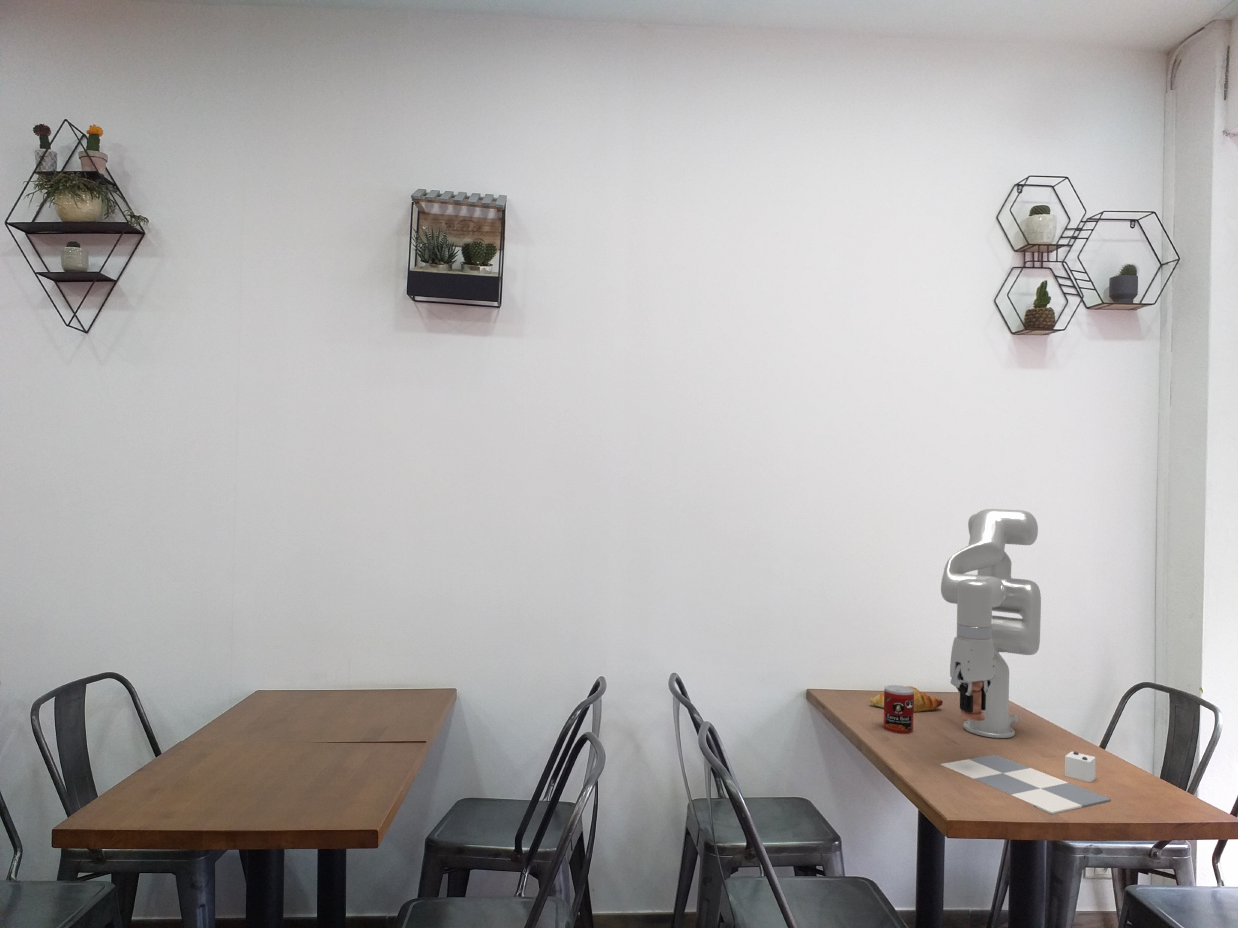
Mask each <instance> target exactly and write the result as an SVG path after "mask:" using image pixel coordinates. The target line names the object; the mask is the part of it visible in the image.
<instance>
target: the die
mask: <svg viewBox="0 0 1238 928" xmlns="http://www.w3.org/2000/svg"><path fill="white" fill-rule="evenodd" d="M1096 761H1097V760H1096V756H1092V755H1087V754H1083V753H1080V752H1078V751H1070V752H1069V753H1067V754H1066V755H1065V756H1064V777H1068V778H1071V779H1074V780H1078V781H1079V780H1080V781H1082V782H1086V783H1090V782H1091V783H1092V782H1093V781H1094V780H1096V766H1097V765H1096Z"/></svg>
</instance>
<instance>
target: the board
mask: <svg viewBox="0 0 1238 928" xmlns="http://www.w3.org/2000/svg"><path fill="white" fill-rule="evenodd" d="M939 765H940V766H943V767H945V768H948V769H950V770H951V771H955V772H957V773H959V774H961V775H964V776H966V777H968V778H971V779H974V780H976V781H978V782H981V783H982V784H984V785H987V786H989V787H992V788H994V789H995V790H998V791H1001V792H1003V793H1005V794H1008V795H1010V796H1013V797H1015V798H1017V799H1020V800H1022V801H1024V802H1025V803H1026V802H1027V803H1029V804H1031V805H1032V806H1033V808H1036V809H1039V810H1041V811H1043V812H1045V813H1048V814H1050V815H1055V814H1059V813H1063V812H1068V811H1073V810H1076V809H1081V808H1085V807H1091V806H1094V805H1098V804H1102V803H1107V802H1112V801H1111V800H1112V799H1111V798H1109V797H1107V796H1104V795H1103V794H1100V793H1096V792H1095V791H1091V790H1089V789H1086V788H1083V787H1081V786H1079V785H1077V784H1073V783H1070V782H1068V781H1065V780H1062V779H1061V778H1058V777H1055V776H1052V775H1050V774H1047V773H1044V772H1042V771H1039V770H1036V769H1034V768H1032V767H1028V766H1026V765H1024V764H1021V763H1019V762H1016V761H1013V760H1011V759H1008V758H1006V757H1003V756H1001V755H998V754H993V755H986V756H979V757H974V758H973V757H972V758H969V759H961V760H956V761H950V762H945V763H940V764H939Z"/></svg>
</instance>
